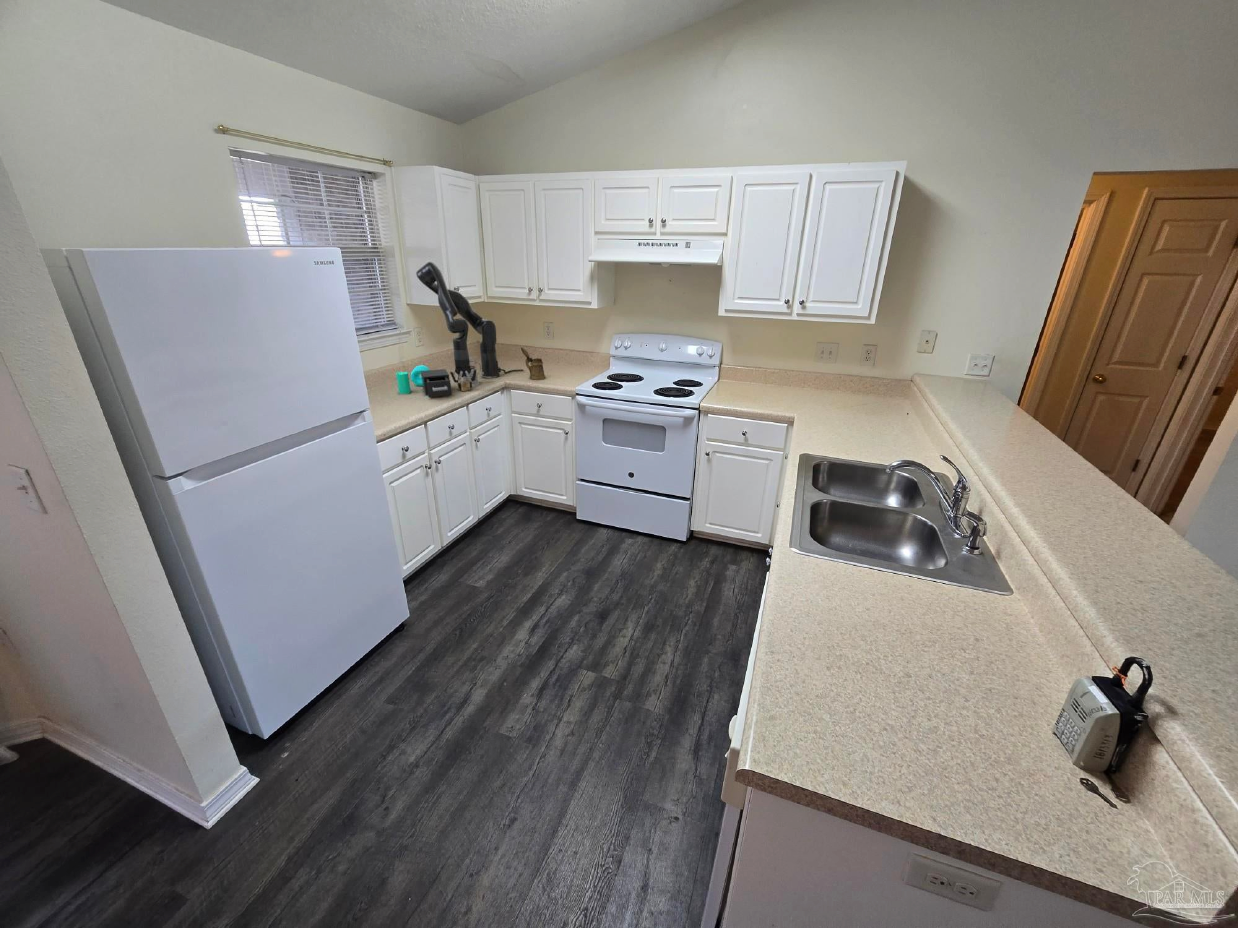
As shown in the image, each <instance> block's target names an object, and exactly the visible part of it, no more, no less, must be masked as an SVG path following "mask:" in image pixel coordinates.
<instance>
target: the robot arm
mask: <svg viewBox="0 0 1238 928" xmlns="http://www.w3.org/2000/svg"><path fill="white" fill-rule="evenodd" d="M415 275H416V278H417V279H418V280H419V282H421V284H423V285H424V286H425V287H426V288H428V289H429V290H430V291H432V292H433V293H434V294H435V295H437V302H438V306H439V308H440V310H441V311H442V314H443V315H444V319H445V323H446V328H447V330H448V331H449V332H450V333H451V334H458V336H456V337H453V338H452V348H453V358H454V367H455V368H454V370H450V371H449V375H450V376H451V378H452V381H453V382H454V383H456V384H457V388H458V390H459V391H461V383H460V381H462V378H463V377H465V378H466V377H467V378H468V380H469V383H470V390H471V389H472V388H473V386H472V381H475V377H476V371H477V369H476V368H474V369H471V368H470V366H471V362H469V357H470V355H469V349H468V342H467V340H468V334H469V329H470V328H469V327H470V326H471V327H472V328H473V330H474V331H475V332H476V333H478V335H480V336H481V341H480V342H479V344H478V346H479V353H480V354H479V356H480V365H481V372H480V374H482V375H481V376H482V378H483V379H493V378H498V377H500V374H501V373H502V372H503V373H504V374H509V373H511V372H523V371H524V368H523V369H521V368H520V369H511V370H508V371H506V369H504V368H501V367H500V366H499V360H498V356H497V346H496V345H497V326H496V324H495V322H494V321H493V320H491V319H486V318H484V317H482V316H481V315H480V314H479V313H477V312H476V311H475V309H474V308H473V306H472V304H471V302H470V301H469V300H468V299H467V298H466V297H465V295H463V294H462V293H461V292H460V291H457V290H455V289H451V288H448V287H447V284H446V281H445V279H444V275H443V273H442V271H441V269H440V268H439V266H438V265H437V264H436V263H435V262H433V261H428V262H427V263H425V264H424V265H422V266H421V267H420V268H418V270H416V273H415ZM457 315H459V316H460V317H461V318H455V317H457ZM469 325H470V326H469ZM475 369H476V370H475ZM471 371H472V373H471V374H473V375H472V379H471V378H470V376H469V374H470V372H471ZM455 375H457V379H456V376H455Z"/></svg>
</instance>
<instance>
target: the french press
mask: <svg viewBox="0 0 1238 928" xmlns="http://www.w3.org/2000/svg"><path fill="white" fill-rule="evenodd" d="M468 342H469V340H468V339H467V343H468ZM469 362H470V363H472V362H474V363H476V364H478V365H479V367H480V368H479V371H477V369H476V366H475V365H470V368H471V369H475V370H476V377H475V381H472V387H474V386H479V385H480V384H481V383H480V382H479V379H478V378H479V377H478V376H479V375H480V374H481V372H482V366H481V363H479V362H478V361H477V360H476V358H474V357H471V356H469ZM472 375H473V373H472V371H471V372H470V374H469V376H470V378H471V379H472ZM466 380H468V378H467V377H462V381H466ZM468 381H469V380H468Z"/></svg>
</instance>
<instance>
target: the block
mask: <svg viewBox="0 0 1238 928" xmlns="http://www.w3.org/2000/svg"><path fill="white" fill-rule="evenodd" d="M465 380H466V379H465ZM460 383H461V390H460V391H461V392H468V391H471V389H470V383H469V381H468V380H466V381H463V380H461V381H460Z"/></svg>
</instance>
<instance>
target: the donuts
mask: <svg viewBox="0 0 1238 928" xmlns="http://www.w3.org/2000/svg"><path fill="white" fill-rule="evenodd" d="M428 370H431V369H430V368H429V367H427V366H426V365H423V364H422V365H417V366H415V367H414V368H413V370H412V371H411V373H410V380H411V382H412V383H413V384H414V385H415V386H418V387H423V383H422V376H421V371H428Z"/></svg>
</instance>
